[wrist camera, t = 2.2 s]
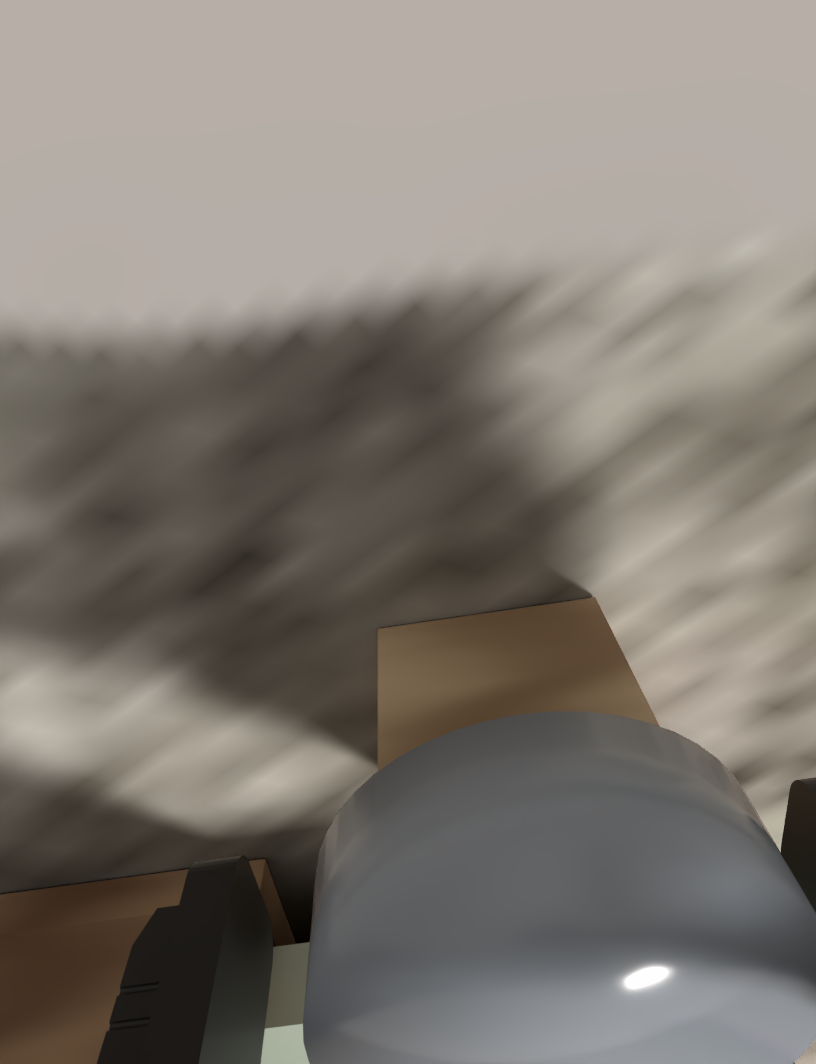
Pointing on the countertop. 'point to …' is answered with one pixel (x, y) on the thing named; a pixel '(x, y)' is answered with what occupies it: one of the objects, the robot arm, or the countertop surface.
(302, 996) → the tray
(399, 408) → the countertop surface
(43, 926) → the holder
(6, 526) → the countertop surface
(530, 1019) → the grey round dome
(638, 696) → the oak block
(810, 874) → the robot arm
